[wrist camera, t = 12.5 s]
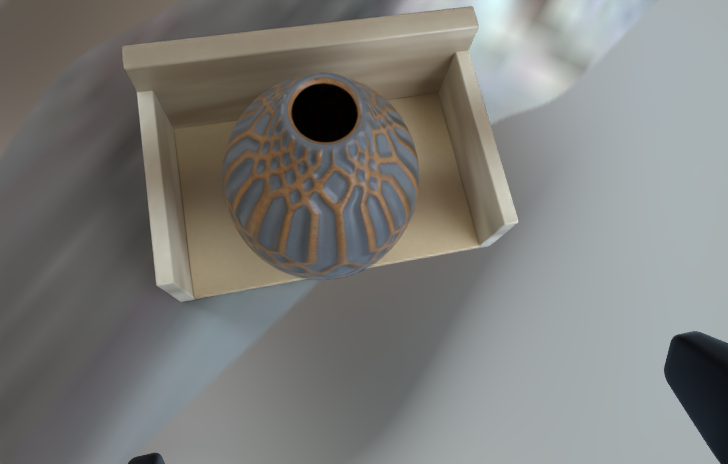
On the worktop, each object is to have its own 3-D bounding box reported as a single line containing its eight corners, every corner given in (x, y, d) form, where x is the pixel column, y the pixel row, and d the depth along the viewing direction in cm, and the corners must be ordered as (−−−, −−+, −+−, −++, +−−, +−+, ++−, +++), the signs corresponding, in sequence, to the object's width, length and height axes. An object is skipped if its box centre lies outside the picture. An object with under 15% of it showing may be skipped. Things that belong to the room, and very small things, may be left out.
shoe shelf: (490, 246, 23) (535, 209, 19) (180, 302, 22) (142, 277, 17) (443, 77, 26) (473, 5, 21) (159, 114, 24) (120, 45, 19)
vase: (433, 206, 23) (500, 102, 15) (330, 329, 21) (340, 290, 13) (312, 110, 24) (312, -40, 16) (202, 220, 22) (135, 118, 14)
